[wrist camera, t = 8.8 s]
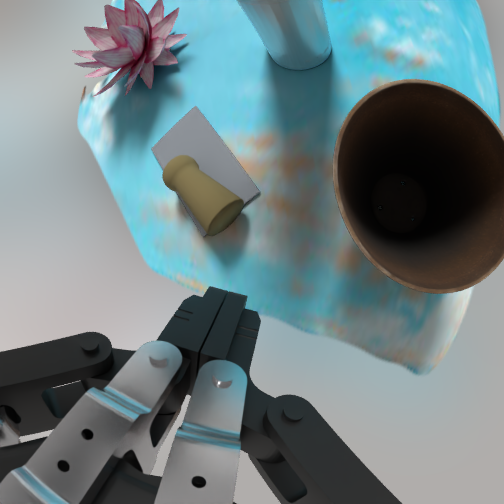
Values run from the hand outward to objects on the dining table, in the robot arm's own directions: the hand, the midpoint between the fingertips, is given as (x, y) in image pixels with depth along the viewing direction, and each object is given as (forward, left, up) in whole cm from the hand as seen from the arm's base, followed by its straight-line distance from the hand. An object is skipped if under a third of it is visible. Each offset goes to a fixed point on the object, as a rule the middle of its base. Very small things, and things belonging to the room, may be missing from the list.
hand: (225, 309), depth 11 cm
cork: (-9, -5, -21) cm, 23 cm away
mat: (-19, -6, -24) cm, 31 cm away
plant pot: (+1, +13, -24) cm, 27 cm away
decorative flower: (-46, -2, -24) cm, 52 cm away
